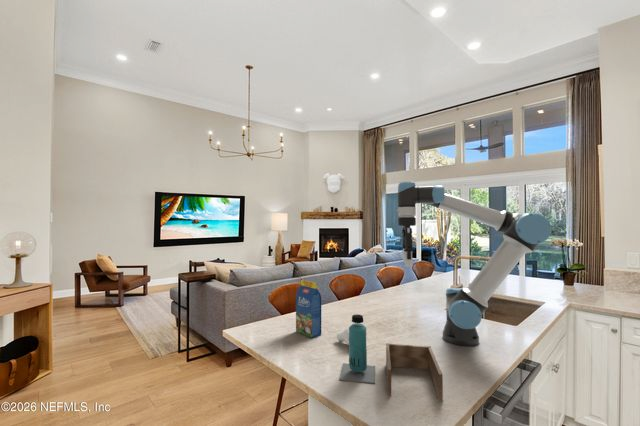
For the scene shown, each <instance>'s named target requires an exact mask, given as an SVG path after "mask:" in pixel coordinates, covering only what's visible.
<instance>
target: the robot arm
mask: <svg viewBox="0 0 640 426" xmlns="http://www.w3.org/2000/svg"><path fill="white" fill-rule="evenodd" d="M397 187H398V188H397V207H398V209H396V212H397V216H399V217H398V218H397V224H398V226H400V227H401V226H402V230H401V233H402V264H405V265H404V266H405V268H413V250H414V248H413V229H412V228H413V227H414V226H416V224H417V218H416V215H417V213H416V212H417V207H416V204H425V205H426V206H430V207H434V208H437V209H440V210H443V211H446V212H449V213H452V214H454V215H458V216H460V217H463V218H465V219H470V220H471V221H475V222H476V223H480V224H483V225H486V226H489V227H491V228H493V229H494V230H495V231H496V232H499V233H502V234H503V235H502V237H503V241H502V242H501V244H500V245H499V246H498V248H497V249H496V250H495V251H494V252H493V254H492V256H491V257H490V258H489V259H488V261H487V262H486V263H485V264H484V265H483V267H482V268H481V270H480V271H478V274H477V275H476V276H475V277H474V278H473V280H472V281H471V282H470V283H469V285H468V286H467V287H462V288H460V287H459V288H456V287H452V288H451V287H449V288H447V289H446V291H445V296H446V297H445V305H446V308H445V311H446V312H445V313H446V316H445V318H446V321H445V325H444V327H443V330H442V339H443V340H444V341H446V342H448V343H451V344H453V345H458V346H465V347H471V346H477V345H479V344H480V336H479V332H478V331H477V327H478V326H479V325H480V323H481V321H482V318H483V316H482V315H483V314H484V313H485V311H486V310H487V309H488V308H489V303H488V301H489V300H490V298H492V296H493V295H494V294H495V292H496V291H497V289H498V288H499V287H500V286H501V285H502V284H503V282H504V281H505V279H506V278H507V277H508V276H509V275H510V273H511V272H512V271H513V270H514V269H515V267H516V266H517V264H518V263H519V262H520V261H521V259H522V258H523V257H524V256H525V255H526V254H530V253H533V252H534V251H535V249H536V248H537V247H538V246H539V244H542V243H544V242H545V241H547V240H548V239H549V238H550V237H551V234H552V225H551V223H550V220H549V219H548V218H547V217H545V216H544V215H543V214H539V213H537V212H525V213H516V212H512V211H507V210H505V209H504V210H502V211H500V210H498V209H493V208H490V207H489V206H485V205H482V204H479V203H476V202H473V201H470V200H466V199H463V198H461V197H457V196H455V195H451V194H448V193H446V192H445V190H446V189H445V187H444V185H421V186H417V184H416V182H415V181H403V182H400V183H398V186H397ZM411 226H412V227H411Z"/></svg>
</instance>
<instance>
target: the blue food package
mask: <svg viewBox="0 0 640 426" xmlns="http://www.w3.org/2000/svg"><path fill="white" fill-rule="evenodd" d="M317 288H318V285H317V282H313V281H310V280H309V281H308V280H303V279H300V285H299V287H298V289H297V291H296V293H295V294H296V295H295V332H297V333H299V334H301V335H303V336H305V337H308V338H310V339H311V338H312V339H313V338H317V337H320V336H321V335H322V296H321V295H322V294H321V293H320V291H319V290H318V289H317Z"/></svg>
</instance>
